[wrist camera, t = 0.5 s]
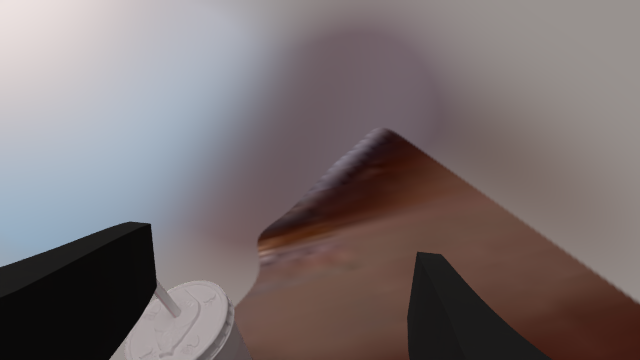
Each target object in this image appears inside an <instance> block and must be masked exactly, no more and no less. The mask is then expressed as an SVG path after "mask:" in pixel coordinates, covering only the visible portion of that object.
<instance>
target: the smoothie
mask: <svg viewBox="0 0 640 360" xmlns="http://www.w3.org/2000/svg"><path fill="white" fill-rule="evenodd" d="M156 280H157V279H156ZM154 294H155V295H156V297H157V298H156V299H155V300H153V301H152V302H151V303H150V304H149V305H148V306H147V307H146V309H145V311H144V312H143V314H142V316H141V317H140V319H139V320H138V322H137V323H136V324H135V326H134V327H133V329H132V330H131V331H130V333H129V334H128V337H127V340H126V343H125V359H126V360H252V358H251V355H250V353H249V351H248V349H247V347H246V344H245V342H244V340H243V338H242V336H241V333H240V331H239V329H238V326H237V324H236V322H235V320H234V307H233V304H232V301H231V300H230V298H229V297H228V296H227V295H226V294H225V292H224V291H223V290H222V289H221V287H220V286H218V285H217V284H215V283H213V282H210V281H203V280H200V281H191V282H187V283H183V284H180V285H178V286H176V287H173V288H171V289H169V290H168V291H165V289H164V288H163V287H162V286H161V285H160V283H159V282H158V280H157V288H156V290H155V292H154Z"/></svg>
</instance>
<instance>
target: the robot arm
mask: <svg viewBox="0 0 640 360" xmlns="http://www.w3.org/2000/svg"><path fill="white" fill-rule="evenodd" d="M156 288H157V280H156V270H155V260H154V251H153V241H152V232H151V224H148V223H138V222H127V223H122V224H119V225H116V226H113V227H110V228H107V229H104V230H102V231H99V232H96V233H93V234H91V235H89V236H86V237H83V238H80V239H78V240H75V241H73V242H70V243H68V244H65V245H62V246H60V247H57V248H54V249H52V250H49V251H46V252H43V253H40V254H38V255H35V256H32V257H29V258H26V259H23V260H21V261H18V262H15V263H12V264H9V265H6V266H3V267H0V360H109V359H110V358H111V356H112V355H113V354H114V353H115V351H116V350H117V348H118V347H119V346H120V345H121V343H122V342H123V341H124V339H125V338H126V337H127V335H128V334H129V333H130V331H131V330H132V329H133V327H134V326H135V324H136V323H137V322H138V320H139V319H140V317H141V316H142V314H143V312H144V311H145V309H146V307H147V305H148V304H149V302H150V300H151V298H152V296H153V294H154V292H155V290H156ZM407 322H408V351H409V358H410V360H552V359H551V358H549V357H548V356H546V355H545V354H544V353H542V352H541V351H540V350H539V349H537V348H536V347H535V346H533V345H532V344H531V343H530V342H528V341H527V340H526V339H525V338H523V337H522V336H521V335H520V334H518V333H517V332H516V331H515V330H514V329H513V328H511V327H510V326H509V325H508V324H507V323H506V322H505V321H504V320H503V319H502V318H501V317H499V316H498V315H497V314H496V313H495V312H494V311H493V310H492V309H491V308H490V307H489V306H488V305H487V304H486V303H485V302H484V301H483V300H482V299H481V298H480V297H479V296H478V295H477V294H476V293H475V292H474V291H473V290H472V288H471V287H470V286H469V285H468V284H467V283H466V282H465V281H464V280H463V279H462V277H461V276H460V275H459V274H458V273H457V272H456V271H455V269H454V268H453V267H452V266H451V265H450V264H449V262H448V261H447V260H446V259H445V258H444V257H443V256H442V255H441V254H433V253H424V252H417V256H416V263H415V269H414V276H413V283H412V289H411V296H410V303H409V309H408V316H407Z"/></svg>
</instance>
